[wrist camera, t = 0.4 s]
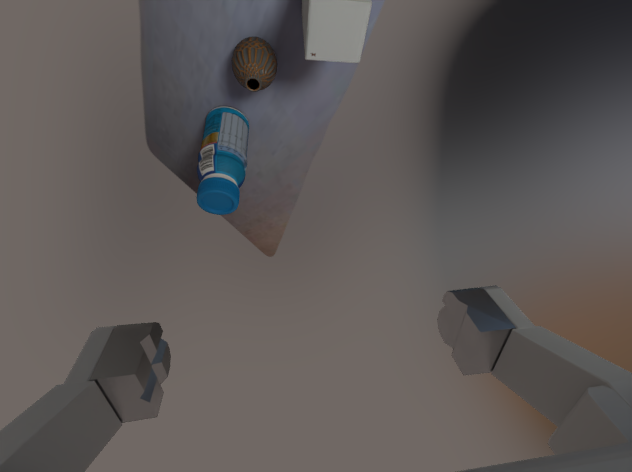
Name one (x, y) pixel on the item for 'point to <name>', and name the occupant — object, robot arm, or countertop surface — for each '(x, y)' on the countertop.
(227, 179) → the beverage bottle
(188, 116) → the countertop surface
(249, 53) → the vase
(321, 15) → the supplement box
